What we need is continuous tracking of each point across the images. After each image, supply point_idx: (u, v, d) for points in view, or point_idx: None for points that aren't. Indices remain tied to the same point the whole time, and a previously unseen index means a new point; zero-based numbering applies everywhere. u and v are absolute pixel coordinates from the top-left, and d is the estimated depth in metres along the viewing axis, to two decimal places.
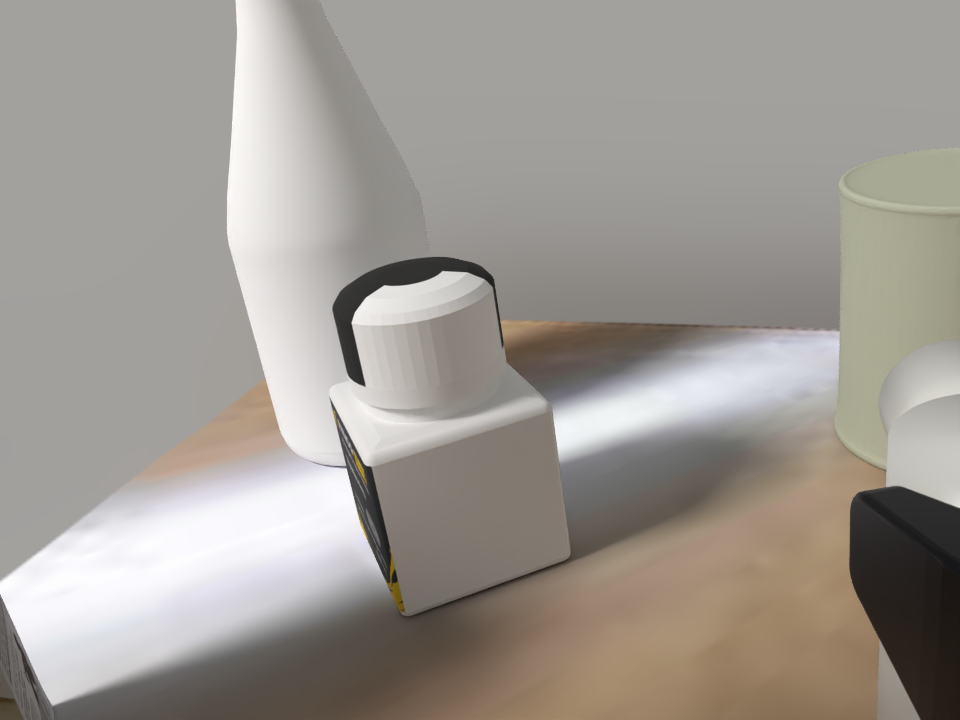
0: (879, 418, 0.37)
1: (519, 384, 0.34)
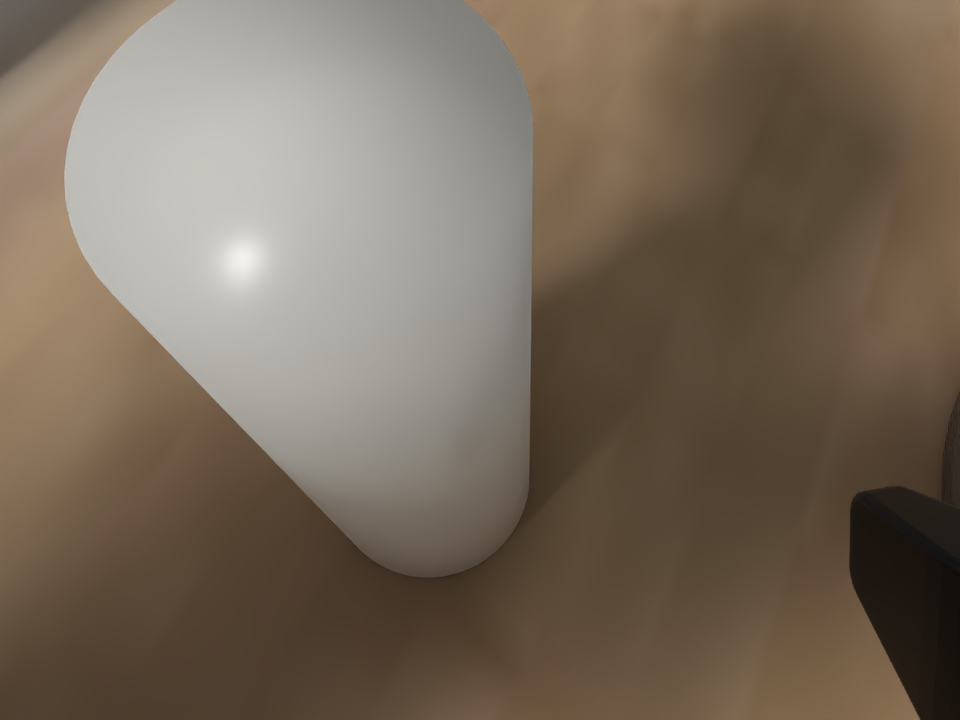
0: None
1: None
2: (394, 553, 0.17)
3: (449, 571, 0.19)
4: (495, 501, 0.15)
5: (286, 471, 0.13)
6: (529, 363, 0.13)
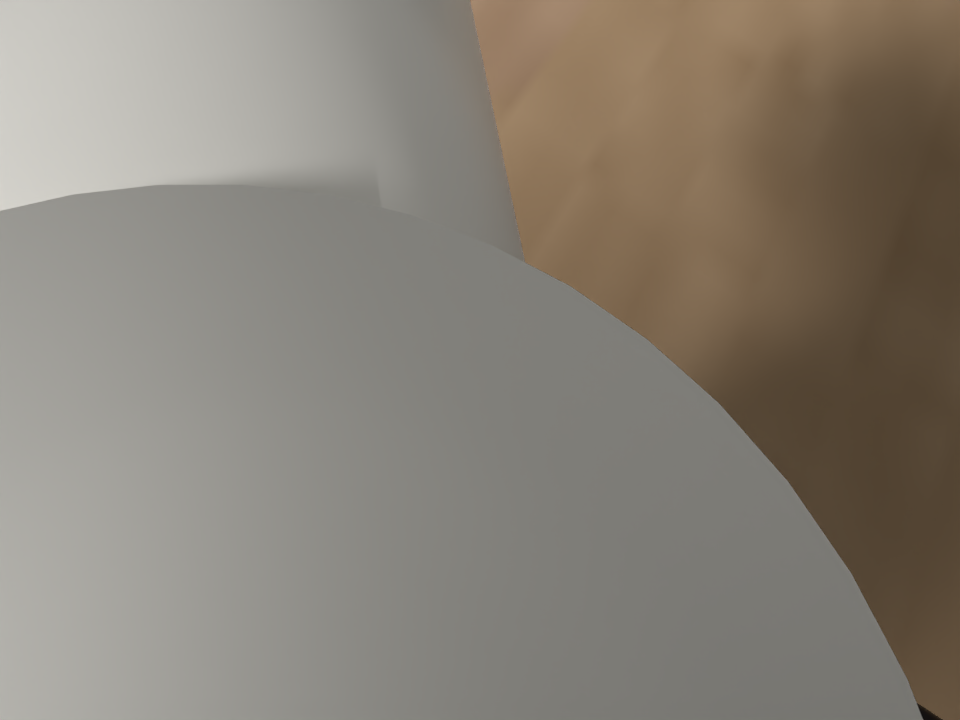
0: None
1: None
2: None
3: None
4: None
5: None
6: None
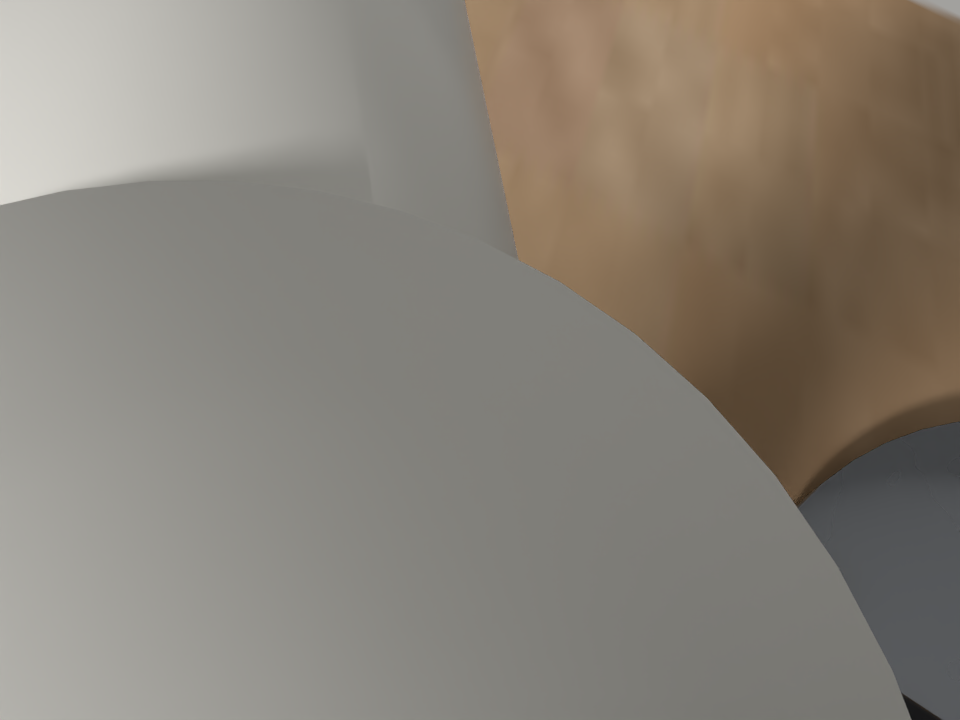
0: None
1: None
2: None
3: None
4: None
5: None
6: None
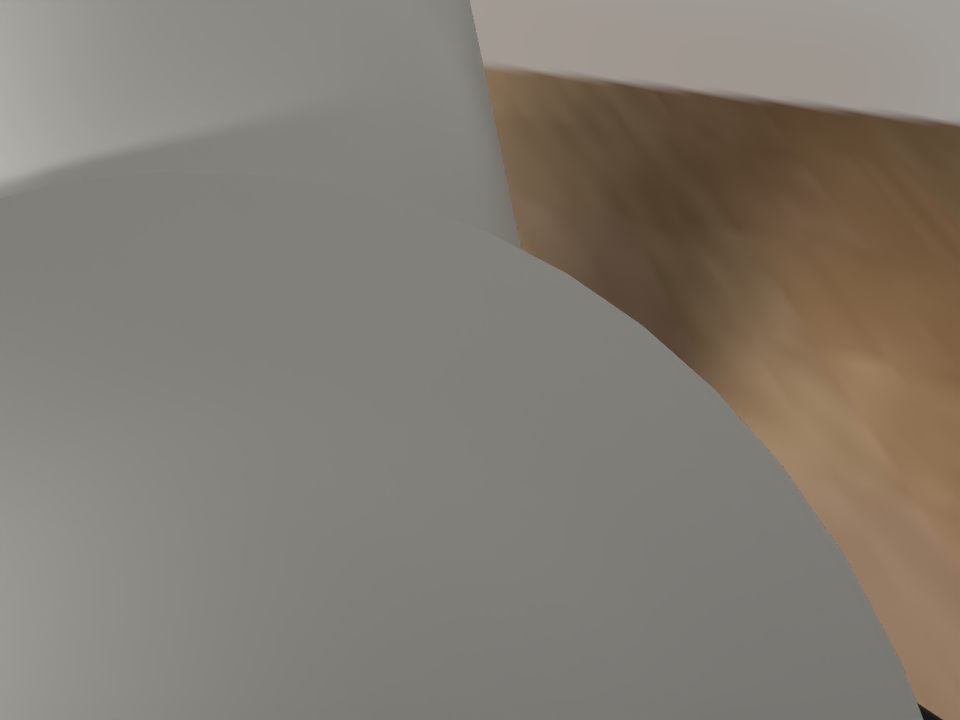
0: None
1: None
2: None
3: None
4: None
5: None
6: None
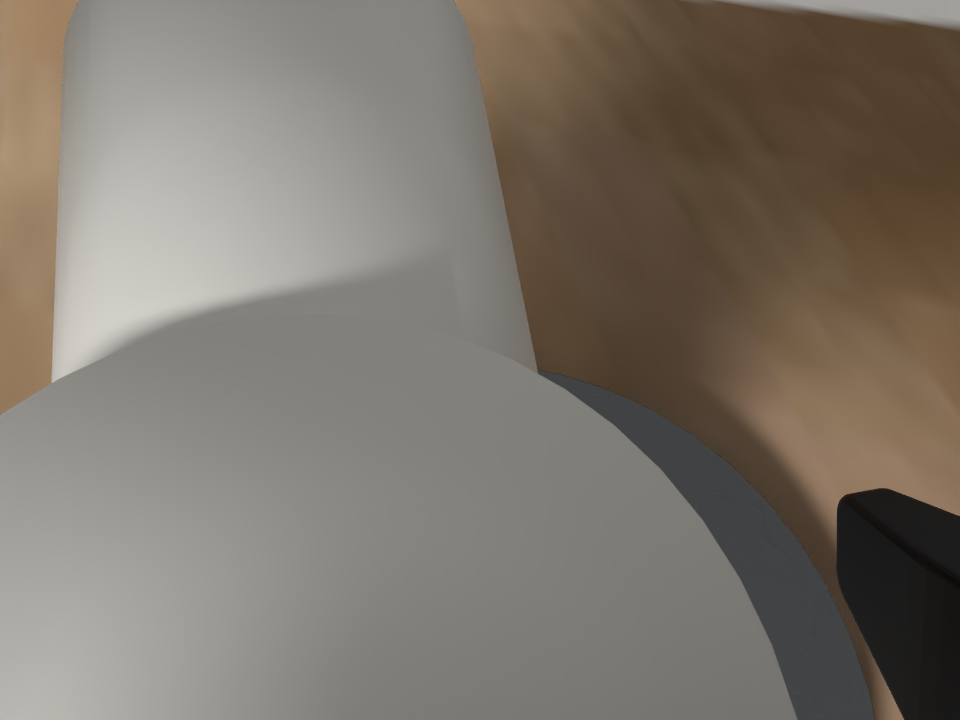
0: None
1: None
2: None
3: None
4: None
5: None
6: None
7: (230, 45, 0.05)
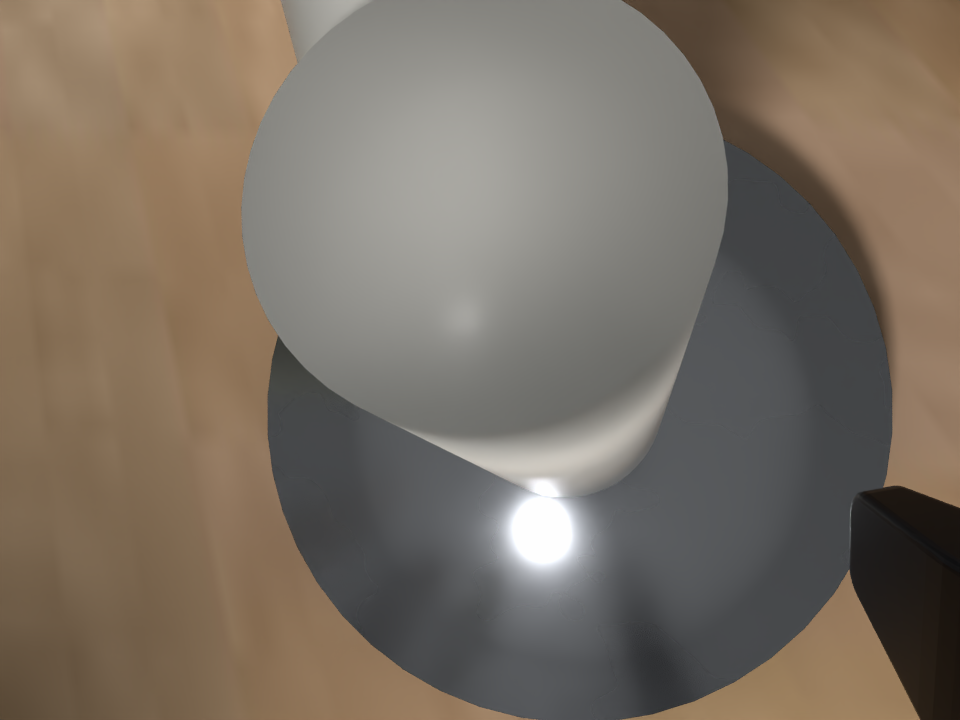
0: None
1: None
2: (551, 491, 0.17)
3: (598, 490, 0.19)
4: (650, 436, 0.16)
5: None
6: None
7: None
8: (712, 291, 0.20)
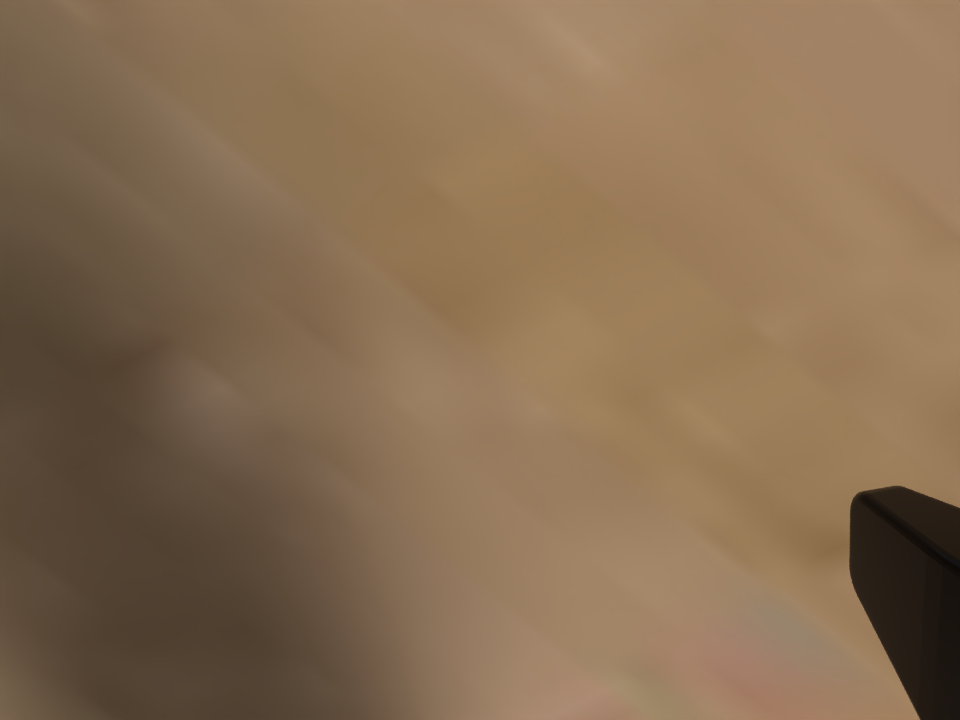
0: None
1: None
2: None
3: None
4: None
5: None
6: None
7: None
8: None
